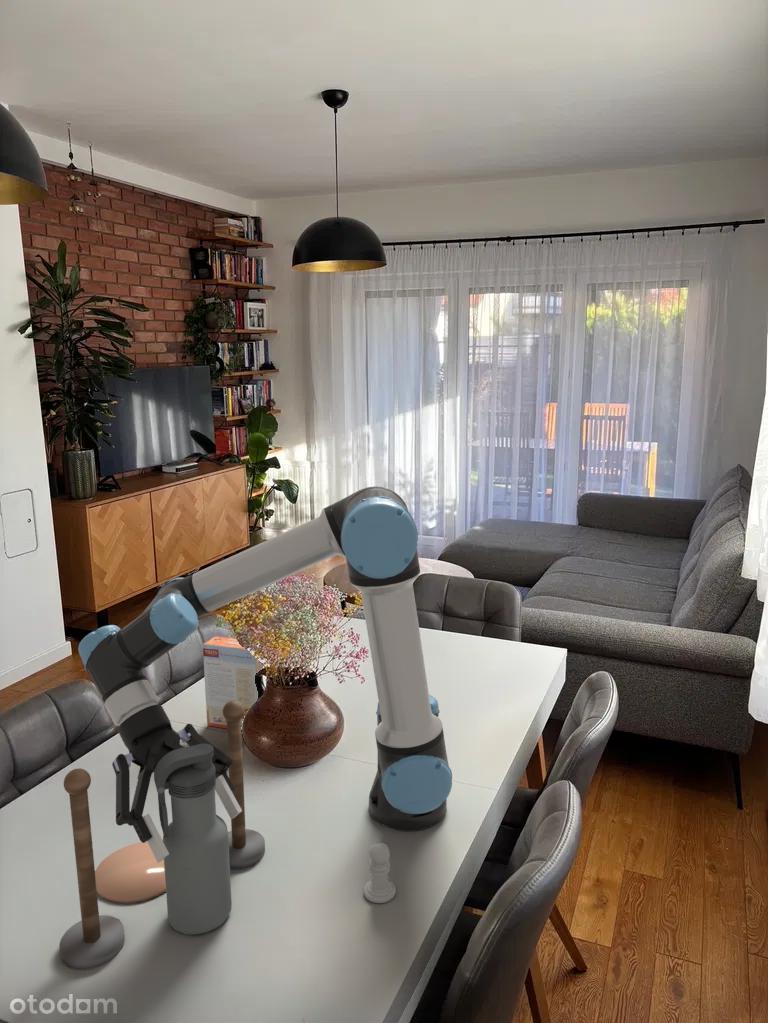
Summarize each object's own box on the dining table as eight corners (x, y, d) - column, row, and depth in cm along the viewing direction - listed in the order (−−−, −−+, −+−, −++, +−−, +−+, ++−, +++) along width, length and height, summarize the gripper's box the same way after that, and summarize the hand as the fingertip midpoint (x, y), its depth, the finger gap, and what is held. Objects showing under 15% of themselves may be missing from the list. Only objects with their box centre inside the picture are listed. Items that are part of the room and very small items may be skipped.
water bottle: (170, 946, 113) (158, 775, 107) (161, 903, 122) (149, 743, 116) (237, 925, 117) (229, 760, 111) (224, 886, 126) (216, 730, 120)
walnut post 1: (137, 934, 115) (123, 761, 109) (93, 977, 107) (75, 794, 101) (92, 916, 119) (77, 749, 113) (46, 957, 111) (26, 779, 105)
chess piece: (400, 901, 122) (400, 851, 120) (368, 907, 120) (367, 857, 119) (390, 879, 127) (390, 831, 125) (359, 885, 125) (359, 837, 124)
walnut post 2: (274, 844, 136) (270, 695, 131) (246, 874, 128) (239, 717, 123) (233, 831, 140) (226, 686, 134) (202, 860, 132) (194, 707, 126)
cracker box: (270, 723, 181) (267, 641, 177) (258, 735, 176) (255, 650, 172) (219, 715, 186) (215, 634, 182) (206, 726, 180) (201, 643, 176)
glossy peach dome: (203, 857, 133) (203, 854, 133) (144, 913, 119) (143, 910, 119) (137, 836, 139) (136, 833, 139) (73, 887, 125) (73, 884, 125)
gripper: (193, 699, 133) (253, 807, 126) (57, 756, 114) (119, 887, 108) (211, 679, 128) (274, 790, 122) (72, 735, 110) (138, 870, 103)
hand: (201, 836), depth 115 cm, fingers open, 13 cm apart
